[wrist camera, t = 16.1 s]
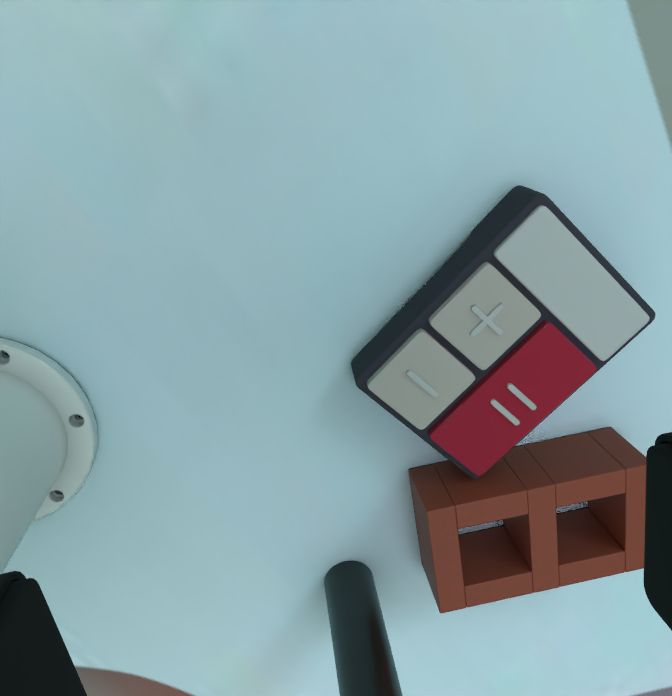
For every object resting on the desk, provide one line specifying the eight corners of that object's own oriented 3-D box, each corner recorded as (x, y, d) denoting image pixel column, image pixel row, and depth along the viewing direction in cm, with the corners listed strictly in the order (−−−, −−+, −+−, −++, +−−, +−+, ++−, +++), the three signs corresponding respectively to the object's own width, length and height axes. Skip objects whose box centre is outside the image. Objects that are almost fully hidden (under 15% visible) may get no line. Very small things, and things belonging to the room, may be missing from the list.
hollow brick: (421, 563, 45) (440, 614, 40) (408, 468, 42) (426, 512, 37) (610, 521, 46) (650, 566, 41) (610, 426, 43) (653, 463, 38)
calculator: (353, 389, 35) (548, 191, 32) (346, 360, 39) (518, 181, 36) (479, 489, 39) (667, 320, 35) (461, 453, 43) (628, 298, 39)
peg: (328, 605, 45) (351, 762, 34) (320, 566, 44) (341, 717, 33) (375, 594, 45) (413, 748, 34) (369, 556, 44) (406, 702, 33)
